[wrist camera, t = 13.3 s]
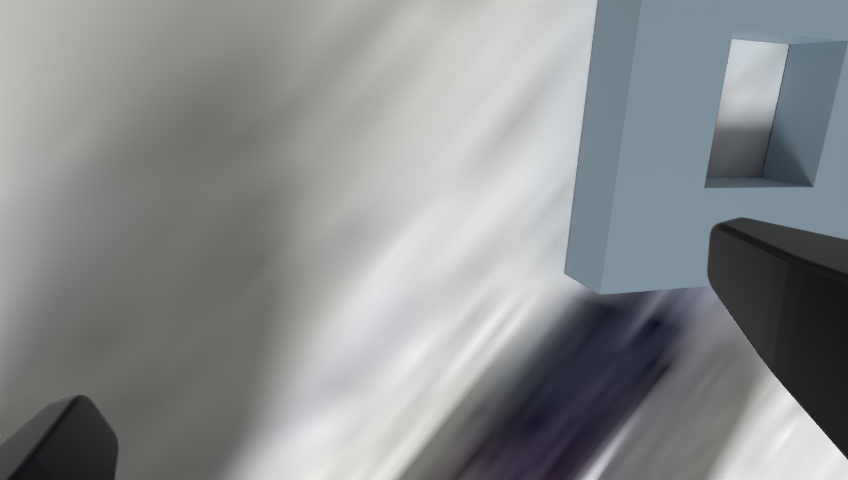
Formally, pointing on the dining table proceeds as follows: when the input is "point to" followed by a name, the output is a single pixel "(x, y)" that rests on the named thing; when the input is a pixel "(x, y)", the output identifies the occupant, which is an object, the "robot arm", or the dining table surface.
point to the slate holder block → (701, 136)
